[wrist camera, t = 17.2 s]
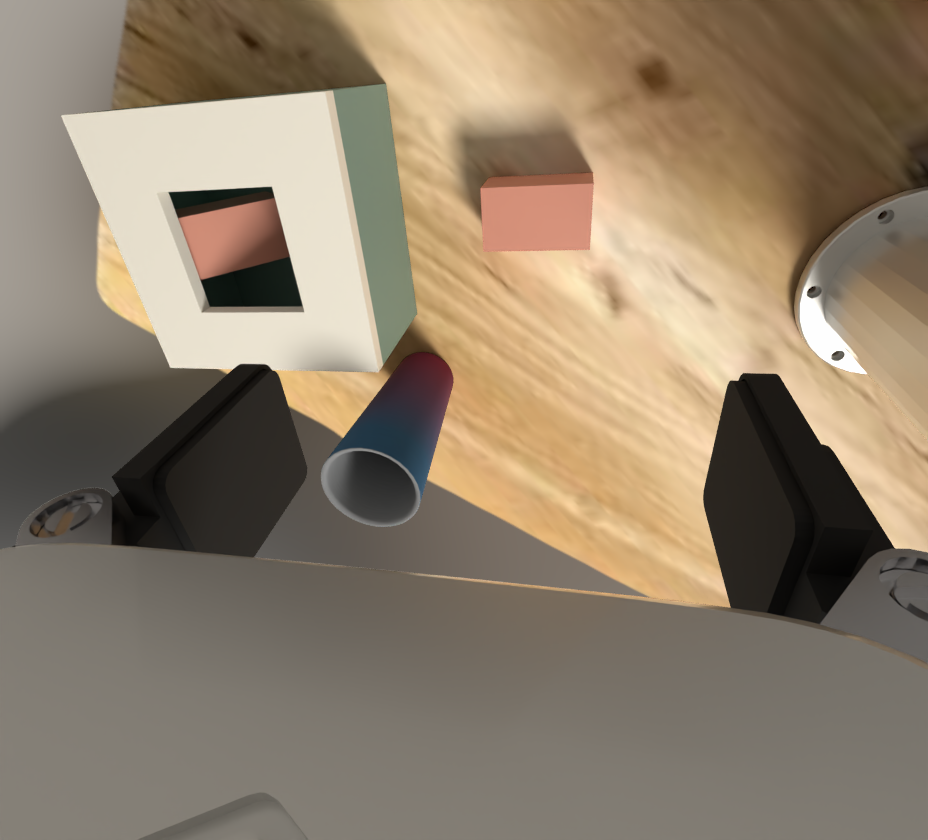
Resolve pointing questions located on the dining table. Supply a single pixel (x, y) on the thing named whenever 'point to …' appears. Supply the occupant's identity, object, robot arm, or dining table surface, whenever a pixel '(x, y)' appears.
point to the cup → (391, 445)
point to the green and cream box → (301, 213)
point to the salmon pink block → (233, 233)
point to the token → (537, 212)
